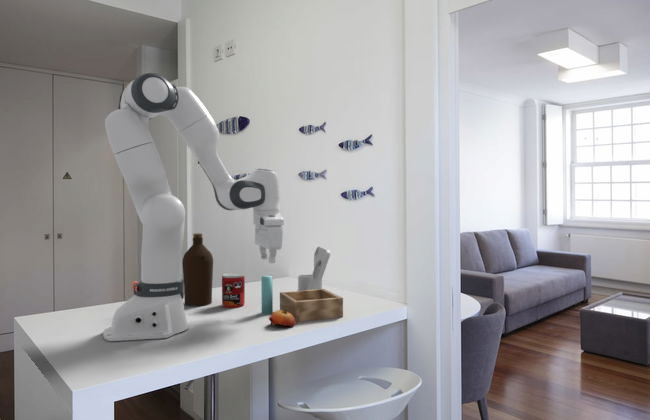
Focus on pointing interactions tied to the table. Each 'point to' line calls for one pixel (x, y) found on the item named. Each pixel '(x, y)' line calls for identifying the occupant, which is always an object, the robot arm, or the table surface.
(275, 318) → the tomato
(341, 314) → the box
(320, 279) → the phone holder
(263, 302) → the peg
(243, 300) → the canned food
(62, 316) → the table surface
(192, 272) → the olive oil
